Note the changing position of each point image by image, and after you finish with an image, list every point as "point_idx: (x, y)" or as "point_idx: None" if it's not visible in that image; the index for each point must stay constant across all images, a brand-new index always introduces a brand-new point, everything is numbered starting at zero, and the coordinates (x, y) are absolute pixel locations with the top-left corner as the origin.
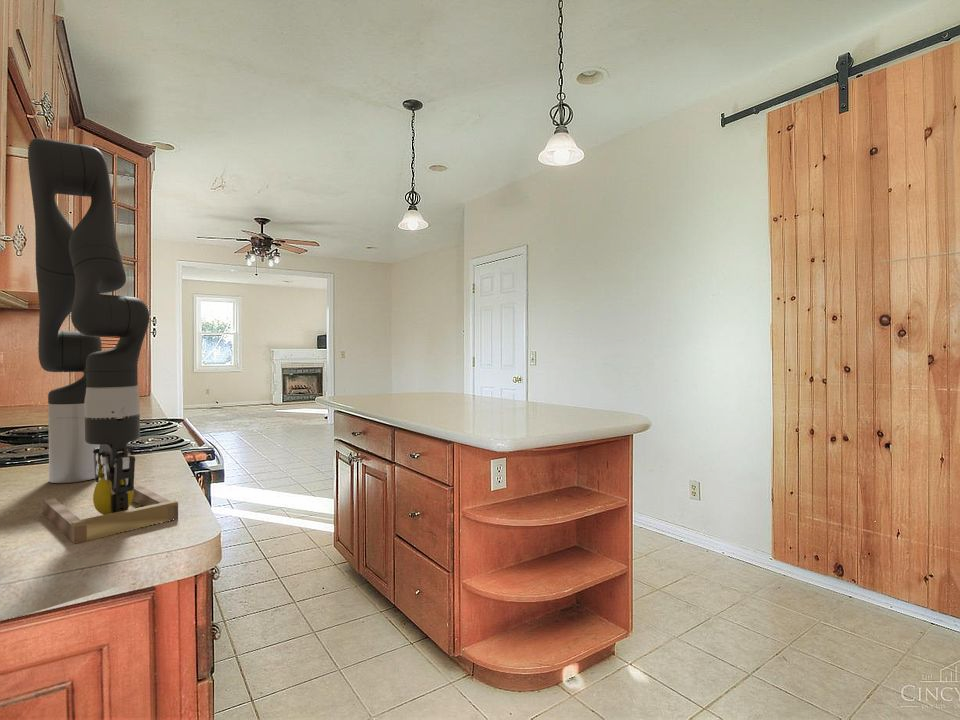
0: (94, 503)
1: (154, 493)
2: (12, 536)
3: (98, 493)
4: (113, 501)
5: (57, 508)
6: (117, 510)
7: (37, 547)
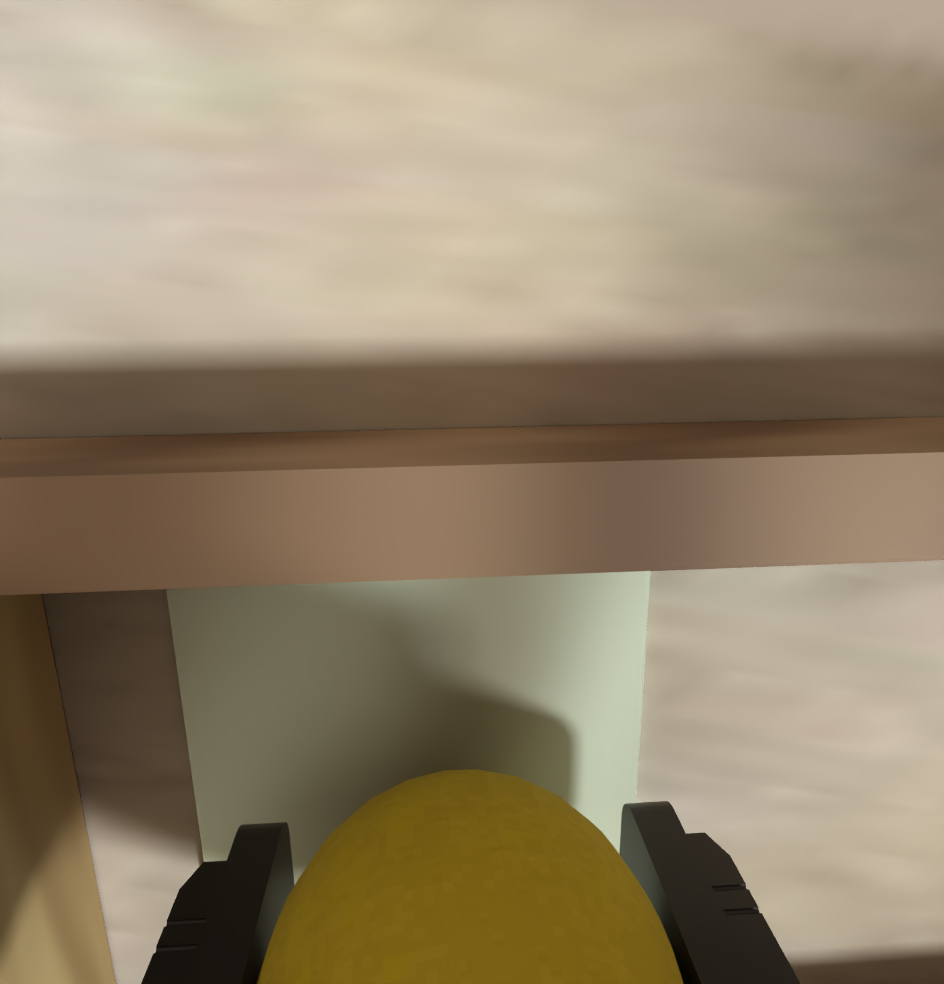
0: (439, 812)
1: None
2: (667, 53)
3: (360, 966)
4: (188, 980)
5: (852, 491)
6: (177, 909)
7: (44, 172)
